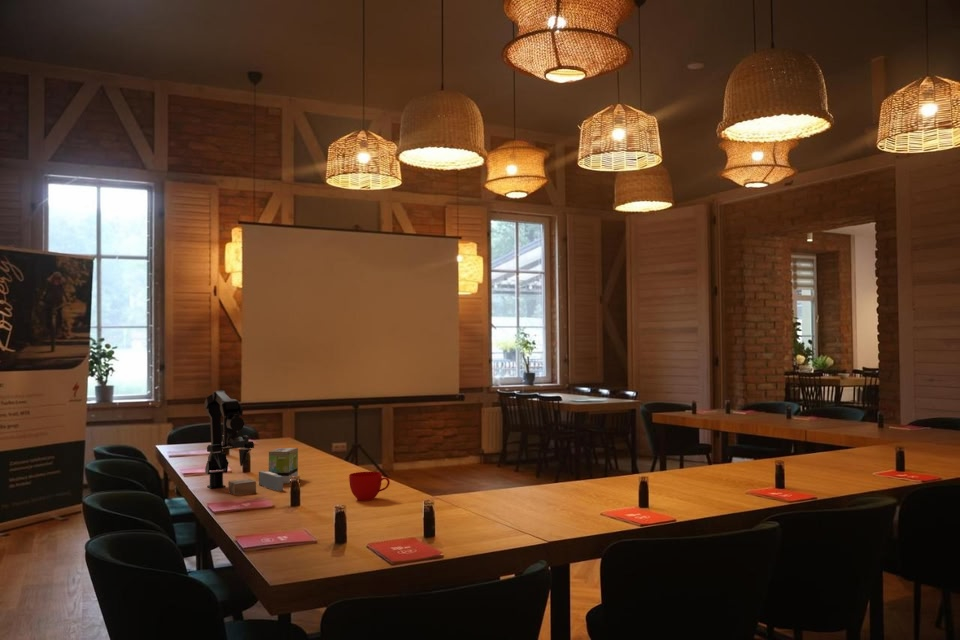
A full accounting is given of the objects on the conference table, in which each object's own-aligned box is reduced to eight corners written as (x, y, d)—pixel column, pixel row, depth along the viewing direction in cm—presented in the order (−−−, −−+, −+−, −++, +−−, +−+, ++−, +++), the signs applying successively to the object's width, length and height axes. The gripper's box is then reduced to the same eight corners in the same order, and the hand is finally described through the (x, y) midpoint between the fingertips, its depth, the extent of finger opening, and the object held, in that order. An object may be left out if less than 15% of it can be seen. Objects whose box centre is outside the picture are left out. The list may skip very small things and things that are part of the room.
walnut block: (228, 493, 327) (228, 481, 327) (249, 490, 332) (249, 478, 332) (234, 495, 320) (234, 483, 320) (256, 493, 325) (256, 481, 325)
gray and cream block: (258, 484, 344) (258, 470, 345) (264, 484, 346) (264, 470, 346) (277, 491, 327) (277, 476, 327) (283, 490, 328) (283, 475, 329)
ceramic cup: (382, 503, 294) (381, 477, 295) (343, 501, 300) (343, 476, 300) (396, 497, 306) (396, 472, 307) (359, 495, 312) (358, 471, 312)
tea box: (289, 483, 346) (289, 451, 347) (267, 484, 346) (267, 451, 347) (298, 478, 361) (298, 446, 362) (277, 478, 361) (277, 447, 362)
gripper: (218, 432, 310) (219, 471, 309) (260, 428, 323) (261, 465, 322) (206, 431, 318) (206, 469, 317) (247, 428, 331) (248, 464, 330)
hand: (231, 467), depth 321 cm, fingers open, 9 cm apart
